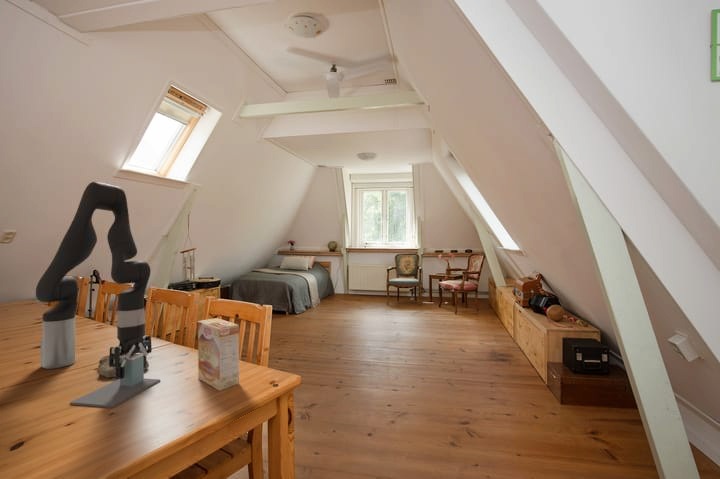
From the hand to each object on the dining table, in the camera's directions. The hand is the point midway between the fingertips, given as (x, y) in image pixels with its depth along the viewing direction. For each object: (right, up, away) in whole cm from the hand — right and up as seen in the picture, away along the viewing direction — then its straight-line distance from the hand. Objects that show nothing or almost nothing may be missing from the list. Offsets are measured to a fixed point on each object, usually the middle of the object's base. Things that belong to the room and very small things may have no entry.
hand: (131, 373), depth 110 cm
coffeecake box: (+27, -4, +3) cm, 27 cm away
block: (0, -3, 0) cm, 3 cm away
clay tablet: (-14, -5, +15) cm, 21 cm away
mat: (-1, -4, -5) cm, 6 cm away
